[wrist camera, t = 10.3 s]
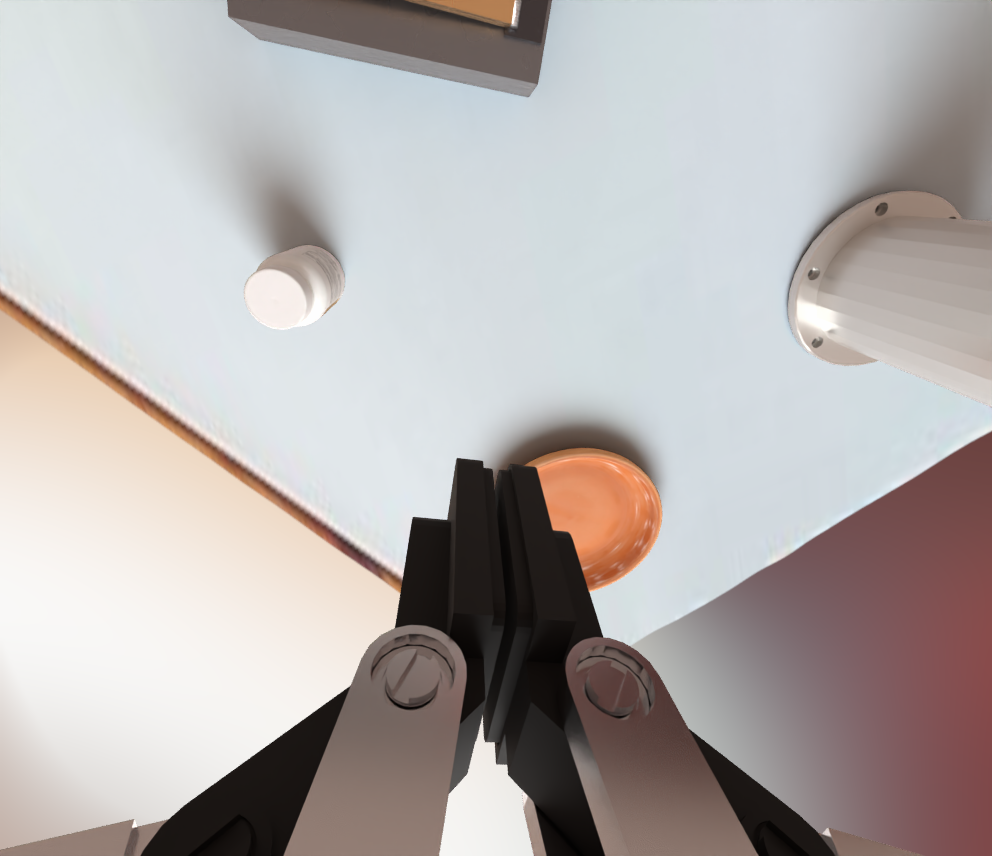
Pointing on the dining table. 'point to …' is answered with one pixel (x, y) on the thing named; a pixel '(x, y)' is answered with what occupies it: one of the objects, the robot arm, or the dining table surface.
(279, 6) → the grey mounting plate
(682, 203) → the dining table surface
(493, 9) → the strap
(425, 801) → the robot arm
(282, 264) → the pill bottle
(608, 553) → the saucer
